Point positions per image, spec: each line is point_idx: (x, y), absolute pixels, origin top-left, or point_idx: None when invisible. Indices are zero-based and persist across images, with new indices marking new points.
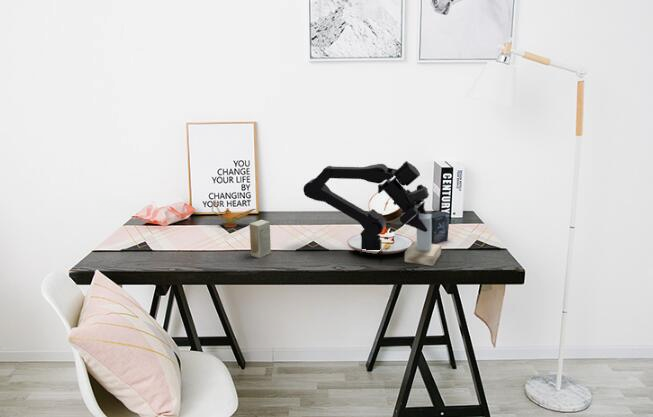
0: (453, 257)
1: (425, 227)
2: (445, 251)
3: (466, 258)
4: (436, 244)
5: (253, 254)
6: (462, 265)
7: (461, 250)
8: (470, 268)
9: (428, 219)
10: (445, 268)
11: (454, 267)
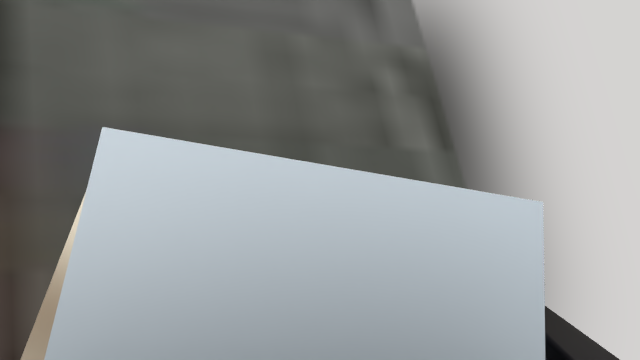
0: (187, 93)
1: (581, 333)
2: (38, 146)
3: (196, 5)
4: (80, 209)
5: None
6: (346, 47)
7: (6, 19)
8: (390, 5)
9: (522, 248)
10: (434, 166)
11: (398, 103)
